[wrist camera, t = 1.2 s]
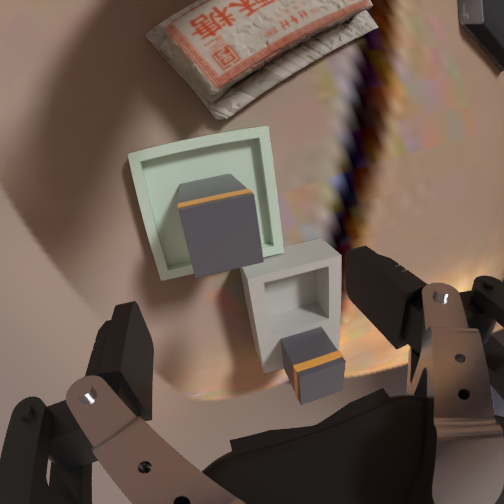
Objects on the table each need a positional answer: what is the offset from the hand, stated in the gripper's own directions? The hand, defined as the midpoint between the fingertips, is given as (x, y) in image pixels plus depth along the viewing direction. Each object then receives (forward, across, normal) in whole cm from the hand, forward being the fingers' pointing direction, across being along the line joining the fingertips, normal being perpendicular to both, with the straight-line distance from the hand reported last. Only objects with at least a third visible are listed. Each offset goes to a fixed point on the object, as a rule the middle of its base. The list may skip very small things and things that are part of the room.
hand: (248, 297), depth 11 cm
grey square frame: (+15, -6, +11) cm, 19 cm away
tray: (+14, 0, 0) cm, 15 cm away
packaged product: (+15, -7, -15) cm, 22 cm away
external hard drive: (+15, -43, -26) cm, 52 cm away
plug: (+14, 0, 0) cm, 14 cm away
